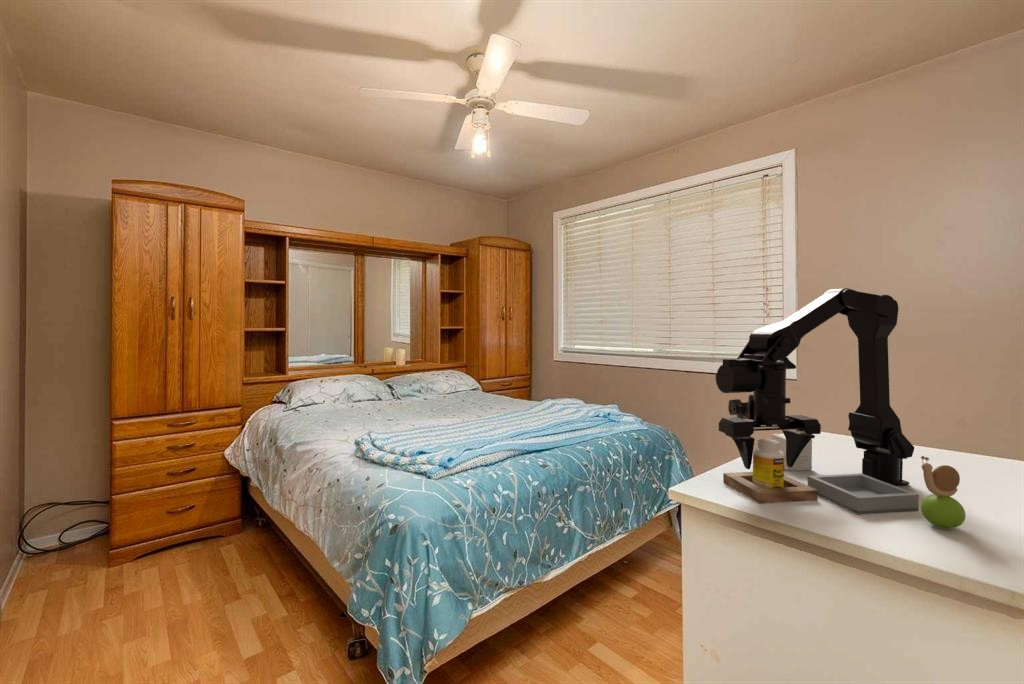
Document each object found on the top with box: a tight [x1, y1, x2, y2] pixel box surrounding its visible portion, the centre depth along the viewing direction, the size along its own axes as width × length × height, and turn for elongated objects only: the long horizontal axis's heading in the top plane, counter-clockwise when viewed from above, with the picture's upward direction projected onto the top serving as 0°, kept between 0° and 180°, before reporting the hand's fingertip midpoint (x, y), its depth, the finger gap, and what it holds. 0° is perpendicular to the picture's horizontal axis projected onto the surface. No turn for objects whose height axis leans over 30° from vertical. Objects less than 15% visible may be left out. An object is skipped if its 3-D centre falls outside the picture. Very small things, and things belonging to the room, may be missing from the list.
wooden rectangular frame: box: [722, 471, 819, 505], centre depth 94 cm, size 12×12×2 cm
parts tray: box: [807, 472, 920, 516], centre depth 89 cm, size 12×12×3 cm
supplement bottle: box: [752, 438, 785, 489], centre depth 94 cm, size 6×6×10 cm
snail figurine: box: [920, 455, 966, 530], centre depth 76 cm, size 5×6×12 cm
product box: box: [771, 433, 813, 472], centre depth 110 cm, size 6×6×7 cm
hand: (768, 467), depth 94 cm, fingers open, 9 cm apart
